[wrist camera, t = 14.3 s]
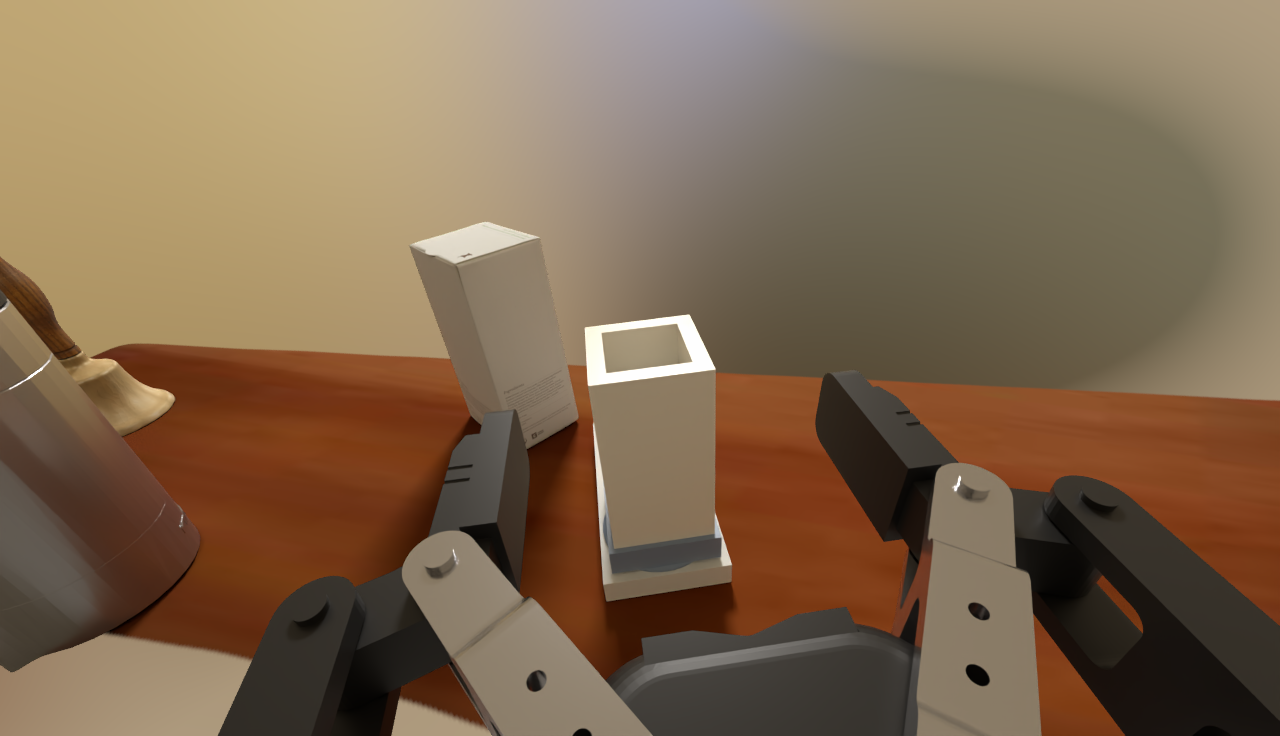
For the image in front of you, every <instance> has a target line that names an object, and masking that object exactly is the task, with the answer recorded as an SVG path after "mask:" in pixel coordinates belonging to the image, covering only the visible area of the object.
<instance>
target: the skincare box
mask: <svg viewBox="0 0 1280 736" xmlns="http://www.w3.org/2000/svg"><path fill="white" fill-rule="evenodd" d="M410 249H411V252H412V254H413V257H414V260H415V263H416V266H417V269H418V271H419V274H420V276H421V279H422V282H423V285H424V287H425V290H426V293H427V296H428V299H429V301H430V304H431V307H432V309H433V312H434V315H435V317H436V320H437V323H438V326H439V328H440V331H441V334H442V337H443V340H444V342H445V345H446V348H447V350H448V354H449V356H450V359H451V362H452V364H453V367H454V370H455V372H456V375H457V378H458V381H459V383H460V386H461V389H462V392H463V395H464V397H465V400H466V403H467V406H468V409H469V412H470V415H471V416H472V417H473V418H474V419H475V420H476V421H477V422H478V423H479V424H481V425H482V422H483V418H484V415H485V413H487V412H496V411H504V410H513V409H516V411H517V413H518V416H519V420H520V424H521V428H522V432H523V437H524V441H525V445H526V449H528V448H530V447H532V446H533V445H535V444H537V443H539V442H540V441H542V440H544V439H546V438H548V437H549V436H551V435H553V434H554V433H556V432H558V431H559V430H561V429H563V428H565V427H566V426H568V425H570V424H571V423H573V422H575V421H576V420H577V419H578V418H579V417H578V412H577V408H576V404H575V398H574V394H573V389H572V385H571V380H570V375H569V371H568V366H567V362H566V357H565V353H564V348H563V344H562V339H561V334H560V330H559V325H558V320H557V316H556V311H555V306H554V302H553V297H552V292H551V288H550V284H549V279H548V274H547V270H546V266H545V260H544V255H543V251H542V246H541V241H540V237H536V236H533V235H529V234H526V233H522V232H519V231H515V230H512V229H508V228H505V227H502V226H499V225H495V224H492V223H489V222H483V223H479V224H475V225H472V226H469V227H466V228H463V229H459V230H457V231H453V232H450V233H447V234H444V235H440V236H437V237H433V238H430V239H426V240H423V241H419V242H416V243H413V244H411V245H410Z"/></svg>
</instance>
